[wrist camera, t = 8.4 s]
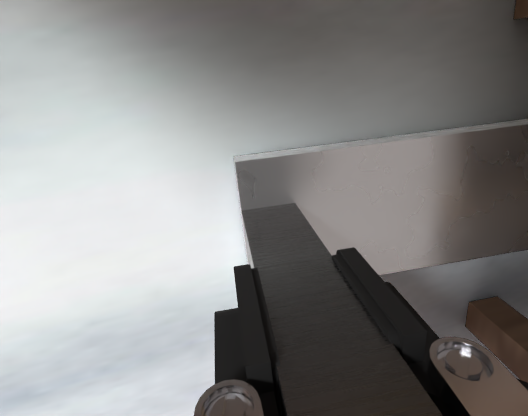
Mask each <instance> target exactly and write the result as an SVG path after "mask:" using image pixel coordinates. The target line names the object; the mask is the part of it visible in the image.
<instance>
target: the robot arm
mask: <svg viewBox="0 0 528 416" xmlns="http://www.w3.org/2000/svg"><path fill="white" fill-rule="evenodd" d="M332 259H333V260H334V262H335V263H336V265H337V266H338V268H339V269H340V271H341V272H342V273H343V275H344V276H345V278H346V279H347V281H348V282H349V284H350V285H351V287H352V288H353V290H354V291H355V292H356V294H357V295H358V297H359V298H360V300H361V301H362V303H363V304H364V306H365V307H366V309H367V310H368V312H369V313H370V314H371V316H372V317H373V319H374V320H375V322H376V323H377V325H378V326H379V328H380V329H381V331H382V332H383V333H384V335H385V336H386V338H387V339H388V341H389V342H390V343H393V345H394V346H395V348H396V349H397V350H398V352H399V353H400V355H401V356H402V358H403V359H404V361H405V362H406V363H407V365H408V366H409V368H410V369H411V371H412V372H413V374H414V375H415V376H416V378H417V379H418V381H419V382H420V384H421V385H422V387H423V388H424V389H425V391H426V392H427V394H428V395H429V397H430V398H431V399H432V401H433V402H434V404H435V405H436V407H437V408H438V410H439V411H440V412H441V414H442V415H443V416H528V382H525V381H522V380H519V379H517V378H515V377H514V376H513V375H512V374H511V373H510V372H509V371H508V370H507V368H506V367H505V366H504V365H503V364H502V363H501V362H500V361H499V360H498V359H497V358H496V357H495V356H494V355H493V354H492V353H491V352H489V351H488V350H487V349H486V348H484V347H482V346H481V345H479V344H477V343H475V342H473V341H470V340H467V339H464V338H458V337H444V338H439V337H438V336H437V335H436V334H435V333H434V331H433V330H432V329H431V328H430V327H429V326H428V325H427V324H426V322H425V321H424V320H423V319H422V318H421V317H420V316H419V315H418V313H417V312H416V311H415V310H414V309H413V308H412V307H411V306H410V304H409V303H408V302H407V301H406V300H405V299H404V298H403V297H402V295H401V294H400V293H399V292H398V291H397V290H396V289H395V287H394V286H393V285H392V284H390V283H389V282H384V281H383V280H382V278H381V277H380V276H379V275H378V274H377V273H376V272H375V270H374V269H373V268H372V267H371V266H370V265H369V263H368V262H367V261H366V260H365V259H364V258H363V256H362V255H361V254H360V253H359V252H358V251H357V249H356V248H354V247H352V248H346V249H340V250H337V252H336V255H332ZM234 274H235V283H236V292H237V301H238V308H234V309H229V310H223V311H217V312H215V385H213V386H212V387H210V388H209V389H207V390H206V391H205V392H204V394H203V395H202V396H201V397H200V399H199V401H198V403H197V405H196V407H195V412H194V416H282V411H281V402H280V393H279V384H278V375H277V367H276V366H278V365H280V361H279V355H278V351H277V346H276V342H275V338H274V334H273V330H272V326H271V322H270V317H269V313H268V309H267V305H266V301H265V297H264V293H263V289H262V284H261V280H260V276H259V272H258V268H251V266H250V264H247V265H241V266H235V267H234Z"/></svg>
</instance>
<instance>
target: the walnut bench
mask: <svg viewBox="0 0 528 416" xmlns="http://www.w3.org/2000/svg"><path fill="white" fill-rule="evenodd" d="M522 18H528V0H516V6H515V12H514V19H522ZM465 327H466V328H467V329H468V330H469V331H471V332H472V333H473V334H474V335H475V336H476V337H477V338H478V339H479V340H480V341H481V342H482V343H483V344H484V345H485V346H486V347H487V348H488V349H489V350H490V351H491V352H492V353H493V354H494V355H495V356H496V357H498V358H499V359H500V360H501V361H502V362H503V363H504V364H505V365H506V366H507V367H508V368H509V369H510V370H511V371H512V372H513V373H514V374H515V375H516V376H517V377H518V378H519V379H520V380H522V381H525V382H528V319H527V318H526V317H524V316H523V315H522V314H520V313H519V312H518V311H516V310H515V309H514V308H512V307H511V306H510V305H508V304H507V303H506V302H504V301H503V300H502V299H500V298H499V297H498V296H497V297H492V298H487V299H482V300H477V301H471V302H469V306H468V312H467V318H466V325H465Z"/></svg>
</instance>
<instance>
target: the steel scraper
mask: <svg viewBox="0 0 528 416" xmlns="http://www.w3.org/2000/svg"><path fill="white" fill-rule="evenodd" d="M233 158H234V165H235V173H236V180H237V188H238V195H239V203H240V210H241V218H242V225H243V233H244V240H245V248H246V255H247V263H248V264H250V266H251V268H258V272H259V276H260V280H261V284H262V289H263V293H264V297H265V301H266V305H267V309H268V313H269V317H270V322H271V326H272V330H273V334H274V338H275V342H276V346H277V351H278V355H279V361H280V365H278V366H276V367H277V375H278V384H279V393H280V402H281V411H282V416H443V415H442V414H441V412H440V411H439V410H438V408H437V407H436V405H435V404H434V402H433V401H432V399H431V398H430V397H429V395H428V394H427V392H426V391H425V389H424V388H423V387H422V385H421V384H420V382H419V381H418V379H417V378H416V376H415V375H414V374H413V372H412V371H411V369H410V368H409V366H408V365H407V363H406V362H405V361H404V359H403V358H402V356H401V355H400V353H399V352H398V350H397V349H396V348H395V346H394V345H393V343H390V342H389V341H388V339H387V338H386V336H385V335H384V333H383V332H382V331H381V329H380V328H379V326H378V325H377V323H376V322H375V320H374V319H373V317H372V316H371V314H370V313H369V312H368V310H367V309H366V307H365V306H364V304H363V303H362V301H361V300H360V298H359V297H358V295H357V294H356V292H355V291H354V290H353V288H352V287H351V285H350V284H349V282H348V281H347V279H346V278H345V276H344V275H343V273H342V272H341V271H340V269H339V268H338V266H337V265H336V263H335V262H334V260H333V259H332V255H336V252H337V250H340V249H346V248H352V247H354V248H356V249H357V251H358V252H359V253H360V254H361V255H362V256H363V258H364V259H365V260H366V261H367V262H368V263H369V265H370V266H371V267H372V268H373V269H374V270H375V272H376V273H377V274H378V275H383V274H389V273H395V272H401V271H407V270H412V269H418V268H424V267H430V266H436V265H441V264H447V263H453V262H459V261H465V260H470V259H476V258H482V257H488V256H494V255H499V254H505V253H511V252H517V251H523V250H528V119H523V120H515V121H507V122H499V123H491V124H483V125H476V126H468V127H460V128H452V129H444V130H436V131H429V132H421V133H413V134H405V135H397V136H389V137H381V138H374V139H366V140H358V141H350V142H342V143H334V144H327V145H319V146H311V147H303V148H295V149H287V150H279V151H272V152H264V153H256V154H248V155H240V156H233Z"/></svg>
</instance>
